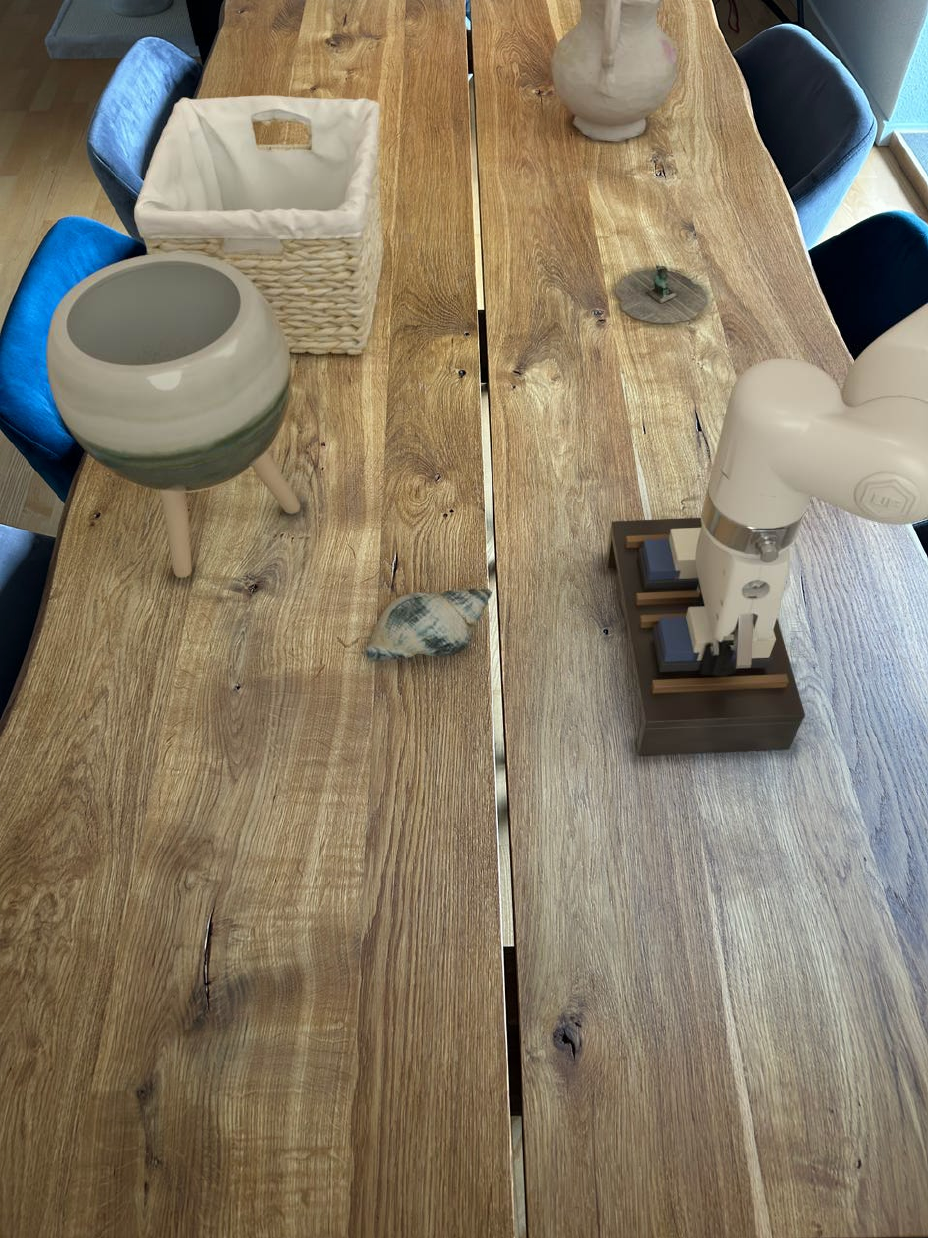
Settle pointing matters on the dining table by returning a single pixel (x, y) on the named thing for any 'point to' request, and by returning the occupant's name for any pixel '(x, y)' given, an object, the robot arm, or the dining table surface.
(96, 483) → the dining table surface
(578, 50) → the ceramic pitcher
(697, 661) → the blue cream block
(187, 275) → the planter
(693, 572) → the two-tone stepped block
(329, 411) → the dining table surface
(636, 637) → the shoe rack
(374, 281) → the basket
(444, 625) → the seashell
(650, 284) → the sculpture
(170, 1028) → the dining table surface
